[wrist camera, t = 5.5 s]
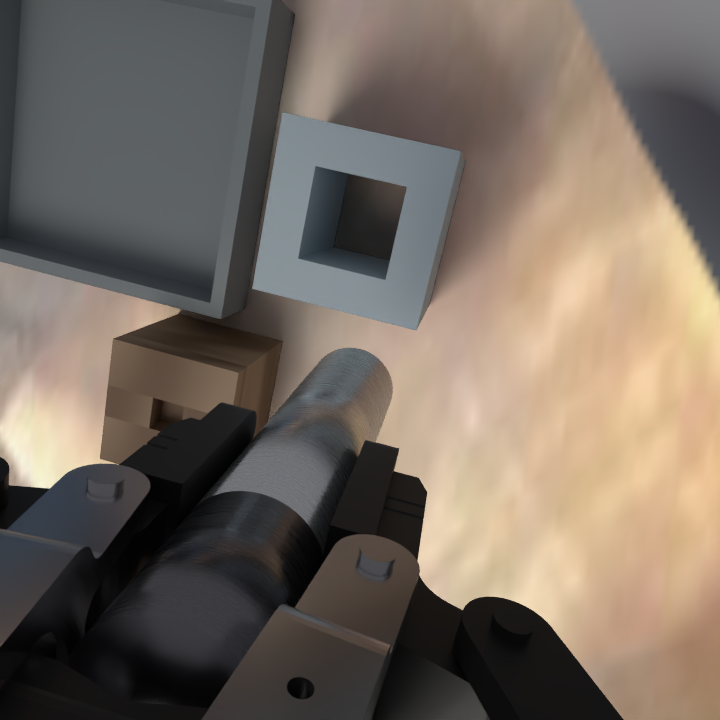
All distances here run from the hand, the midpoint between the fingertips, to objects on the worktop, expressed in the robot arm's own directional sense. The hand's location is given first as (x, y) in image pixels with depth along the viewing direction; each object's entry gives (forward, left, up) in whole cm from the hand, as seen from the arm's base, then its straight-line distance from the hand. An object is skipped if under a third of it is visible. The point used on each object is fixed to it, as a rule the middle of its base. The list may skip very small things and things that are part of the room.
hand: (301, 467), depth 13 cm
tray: (+14, -5, -18) cm, 23 cm away
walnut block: (+8, +5, -18) cm, 20 cm away
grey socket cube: (+2, -4, -18) cm, 18 cm away
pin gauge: (0, 0, -6) cm, 6 cm away
